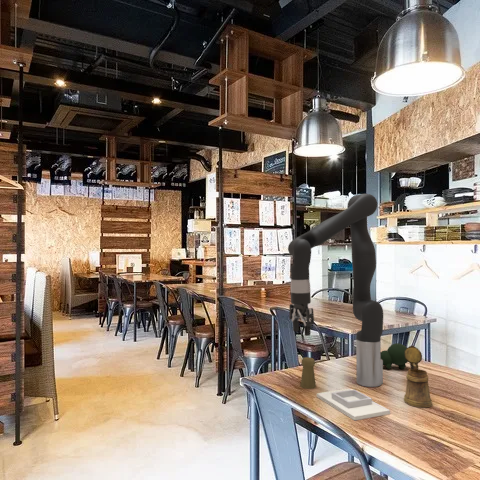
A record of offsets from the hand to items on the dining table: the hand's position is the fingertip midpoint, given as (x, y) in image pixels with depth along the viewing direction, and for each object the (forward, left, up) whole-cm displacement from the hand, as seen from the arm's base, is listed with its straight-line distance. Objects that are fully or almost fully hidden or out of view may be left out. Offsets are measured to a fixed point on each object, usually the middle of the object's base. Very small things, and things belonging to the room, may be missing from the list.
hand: (301, 333), depth 160 cm
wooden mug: (-32, +25, -21) cm, 46 cm away
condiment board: (-8, +20, -21) cm, 30 cm away
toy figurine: (-49, -10, -21) cm, 54 cm away
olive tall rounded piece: (-4, -2, -21) cm, 22 cm away
